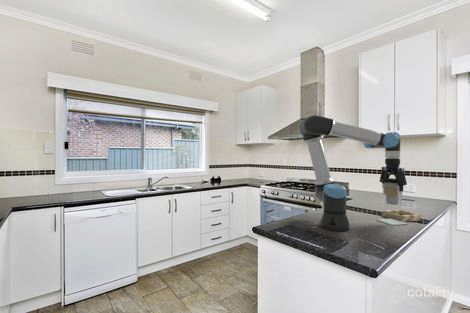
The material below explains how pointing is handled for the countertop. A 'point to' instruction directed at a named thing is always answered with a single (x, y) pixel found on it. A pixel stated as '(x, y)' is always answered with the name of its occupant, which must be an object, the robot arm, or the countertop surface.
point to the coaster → (392, 222)
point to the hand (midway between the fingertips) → (392, 195)
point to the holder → (402, 215)
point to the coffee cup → (391, 191)
